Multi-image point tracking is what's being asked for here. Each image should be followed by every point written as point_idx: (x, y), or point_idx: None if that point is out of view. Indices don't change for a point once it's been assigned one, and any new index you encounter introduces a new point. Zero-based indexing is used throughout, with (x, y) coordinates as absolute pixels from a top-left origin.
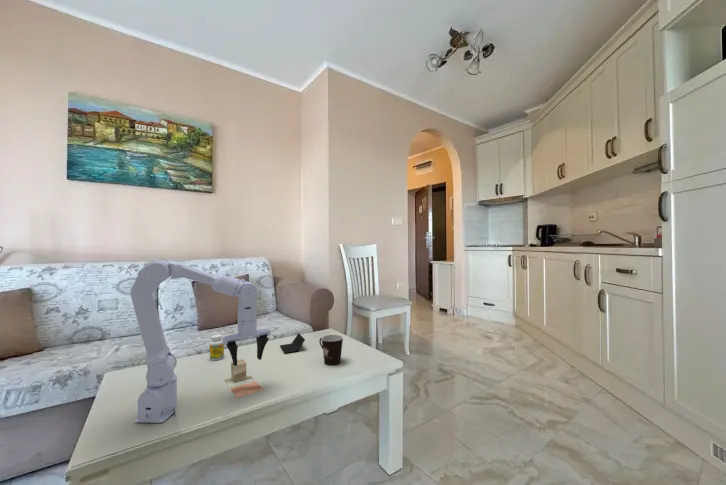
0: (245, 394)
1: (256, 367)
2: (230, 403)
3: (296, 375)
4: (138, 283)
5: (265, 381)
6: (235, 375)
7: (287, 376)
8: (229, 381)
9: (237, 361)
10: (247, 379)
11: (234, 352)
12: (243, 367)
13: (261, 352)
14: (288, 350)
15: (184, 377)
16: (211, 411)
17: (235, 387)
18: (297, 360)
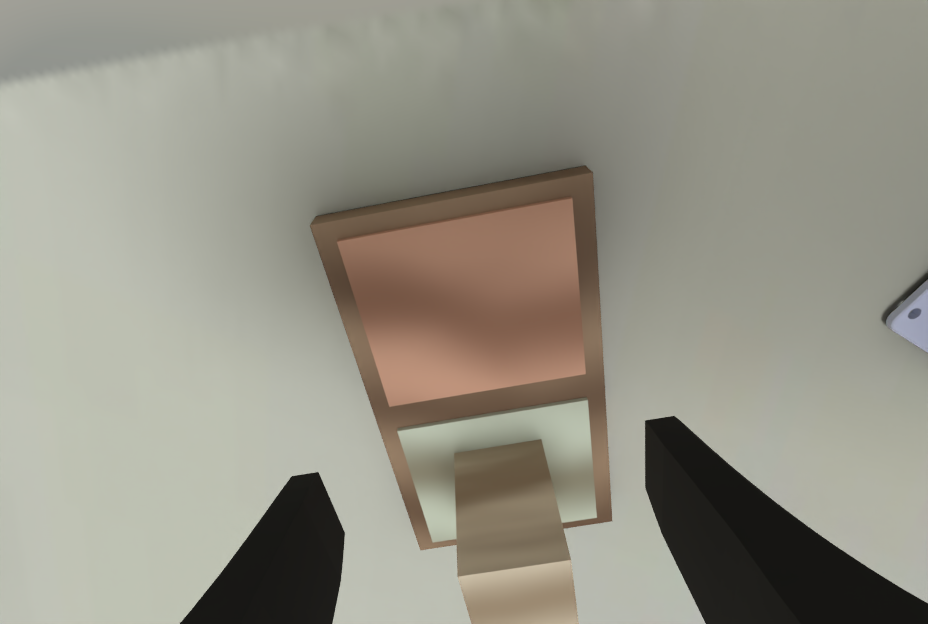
0: (495, 223)
1: (367, 593)
2: (612, 186)
3: (66, 400)
4: None
5: (318, 405)
6: (541, 482)
7: (143, 412)
8: (567, 469)
9: (527, 612)
10: (446, 451)
11: (854, 602)
12: (481, 534)
13: (246, 565)
14: None
15: None
16: (767, 125)
17: (547, 372)
18: (79, 594)
